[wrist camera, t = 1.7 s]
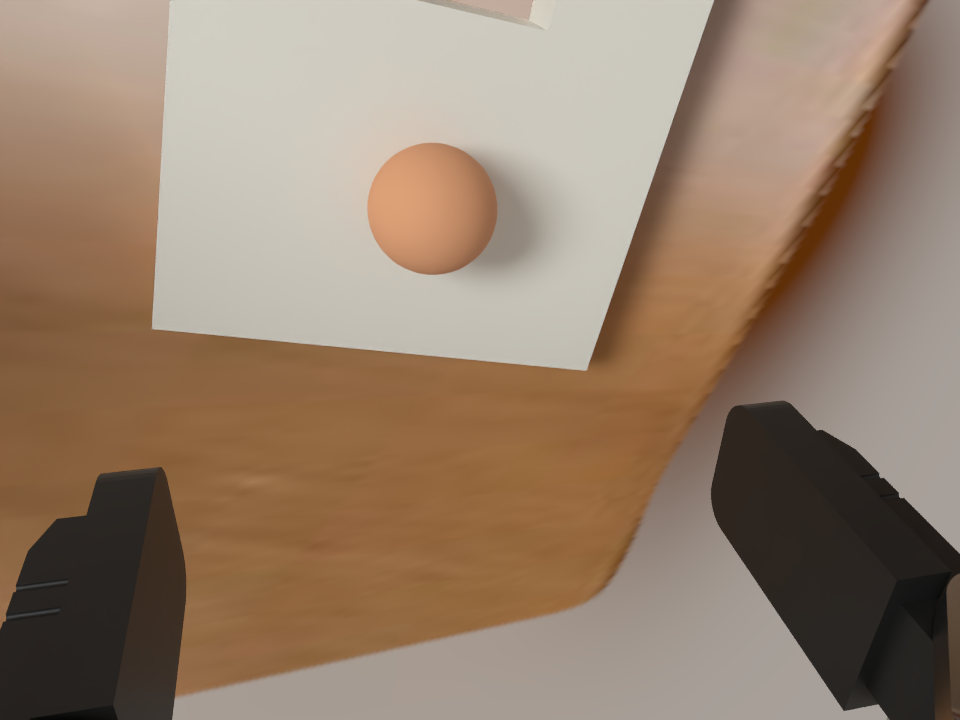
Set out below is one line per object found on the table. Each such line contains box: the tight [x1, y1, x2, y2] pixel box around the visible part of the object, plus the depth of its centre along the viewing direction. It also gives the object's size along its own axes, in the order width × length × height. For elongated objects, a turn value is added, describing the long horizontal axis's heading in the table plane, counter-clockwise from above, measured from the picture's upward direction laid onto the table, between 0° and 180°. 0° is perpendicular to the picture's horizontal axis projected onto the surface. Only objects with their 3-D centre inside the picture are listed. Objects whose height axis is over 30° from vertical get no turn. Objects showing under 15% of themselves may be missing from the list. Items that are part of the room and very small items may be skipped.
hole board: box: [152, 0, 714, 371], centre depth 29 cm, size 24×18×2 cm
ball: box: [367, 143, 498, 275], centre depth 28 cm, size 4×4×4 cm
